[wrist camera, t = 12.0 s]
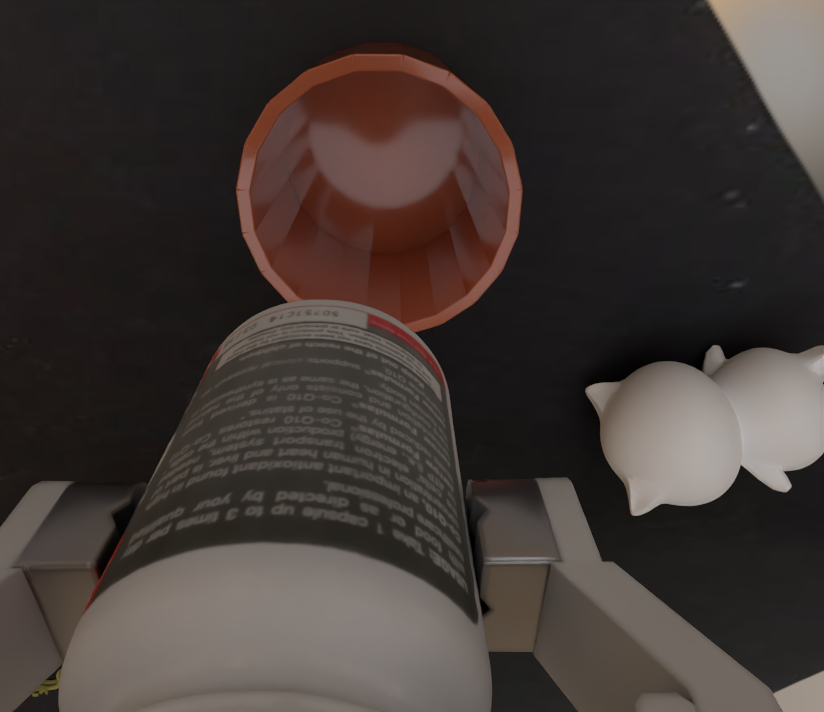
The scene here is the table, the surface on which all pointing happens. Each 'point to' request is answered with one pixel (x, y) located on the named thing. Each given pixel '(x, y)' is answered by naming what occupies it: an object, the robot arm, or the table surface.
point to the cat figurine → (711, 424)
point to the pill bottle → (296, 538)
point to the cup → (380, 186)
